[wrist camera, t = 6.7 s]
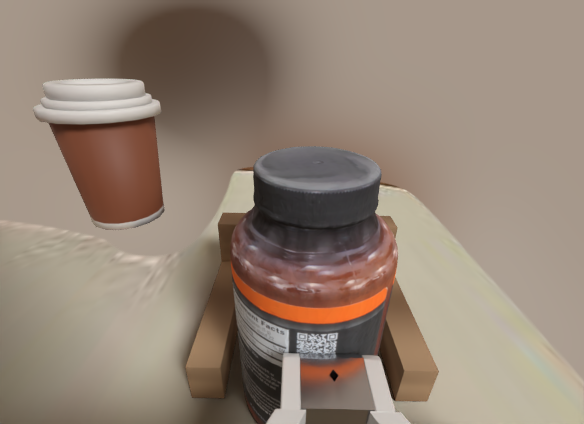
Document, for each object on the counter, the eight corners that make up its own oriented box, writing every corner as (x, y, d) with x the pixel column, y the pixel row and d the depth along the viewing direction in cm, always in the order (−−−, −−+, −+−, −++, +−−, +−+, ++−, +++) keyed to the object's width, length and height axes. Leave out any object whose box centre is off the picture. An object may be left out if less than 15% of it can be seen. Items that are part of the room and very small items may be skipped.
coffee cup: (108, 250, 24) (57, 90, 19) (56, 218, 28) (3, 80, 23) (197, 208, 31) (179, 82, 25) (144, 187, 35) (119, 76, 30)
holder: (427, 401, 14) (456, 325, 12) (192, 397, 14) (175, 320, 12) (378, 276, 22) (390, 216, 20) (228, 273, 22) (222, 212, 20)
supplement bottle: (319, 319, 18) (336, 132, 13) (394, 407, 14) (466, 175, 8) (225, 363, 16) (197, 148, 10) (280, 492, 11) (282, 227, 6)
